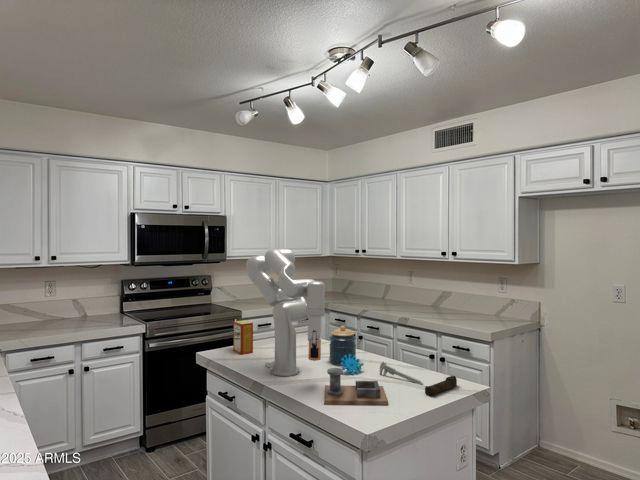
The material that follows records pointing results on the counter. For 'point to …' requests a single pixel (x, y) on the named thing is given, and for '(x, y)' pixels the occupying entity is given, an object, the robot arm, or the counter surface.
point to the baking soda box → (243, 337)
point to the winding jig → (353, 391)
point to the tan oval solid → (318, 351)
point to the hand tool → (441, 386)
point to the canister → (341, 345)
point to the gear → (351, 364)
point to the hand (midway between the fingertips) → (314, 355)
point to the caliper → (397, 373)
